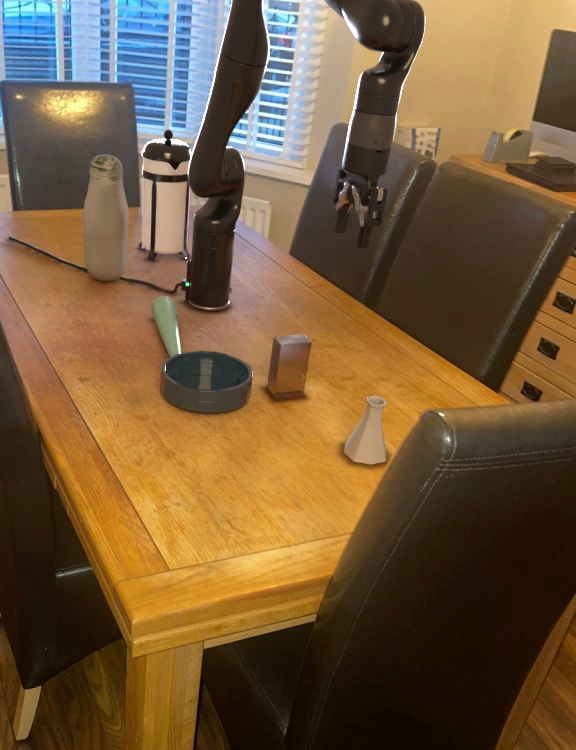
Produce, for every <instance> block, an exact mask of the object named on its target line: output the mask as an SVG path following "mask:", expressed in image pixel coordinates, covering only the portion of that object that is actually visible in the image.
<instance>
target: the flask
mask: <svg viewBox="0 0 576 750" xmlns="http://www.w3.org/2000/svg"><path fill="white" fill-rule="evenodd" d="M365 404H366V407H365V411H364V413H363V416H362V418H361V419H360V421H359V423H358V424H357V426H356V427H355V429H354V430H353V432H352V434H351V435H350V436H349V437H348V439H347V440H346V441H345V444H344V449H343V453H344V454H345V455H346V456H347V457H348V458H349V459H350V460H351V461H352V462H355V463H359V464H360V463H361V464H366V465H375V464H380V463H385V462H387V461H386V460H387V448H386V442H385V437H384V430H383V423H382V422H383V421H382V420H383V411H384V408H386V405H387V400H386V399H385V398H384V397H382V396H375V395H370V396H367V397H366V403H365Z"/></svg>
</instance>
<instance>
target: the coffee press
mask: <svg viewBox="0 0 576 750" xmlns="http://www.w3.org/2000/svg"><path fill="white" fill-rule="evenodd" d="M173 136H174V133H173V131H172V130H171V129H166V130H165V131H164V132H163V137H164V138H161V139H160V138H159V139H153V140H151V141H148V142H147V143H146V144H145V145H144V147H143V149H142V151H141V157H142V167H141V176H142V196H141V197H142V198H141V200H142V204H141V205H142V206H141V241H140V243H138V248H139V249H140V250H144V249H145V250H146V251H148V254H147V260H148V261H155V259H156V257H157V255H175V254H179V255H180V256H181V258H183V260H189V259H190V258H191V254H190V251H189V250H188V237H189V235H188V233H189V220H190V200H191V199H190V197H191V188H190V185H189V181H188V168H189V162H190V158H191V155H192V152H193V150H192V148H191V146H190V145H188V144H187V143H186V142H183V141H181V140H178V139H173Z"/></svg>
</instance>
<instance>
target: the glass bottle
mask: <svg viewBox="0 0 576 750" xmlns="http://www.w3.org/2000/svg"><path fill="white" fill-rule="evenodd" d="M122 164H123V163H122V162H121V161H120V159H119V158H118V157H116V156H113V155H111V154H101V155H96V156H94V157H93V158H92V159H91V161H90V165H89V181H88V186H87V191H86V192H87V193H86V196H85V199H84V204H83V211H82V227H83V228H82V229H83V252H84V253H83V255H84V256H83V257H84V264H85V268H87V270H88V273H89V275H90V276H91V277H93V278H94V279H95V280H97V281H100V282H115V281H117V280H119V278H120V277H123V275H124V274H125V272H126V268H127V264H128V255H129V254H128V250H129V249H128V247H129V245H128V244H129V240H128V239H129V222H130V221H129V219H130V217H129V215H130V213H129V206H128V201H127V196H126V193H125V188H124V167H123V165H122Z"/></svg>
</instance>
